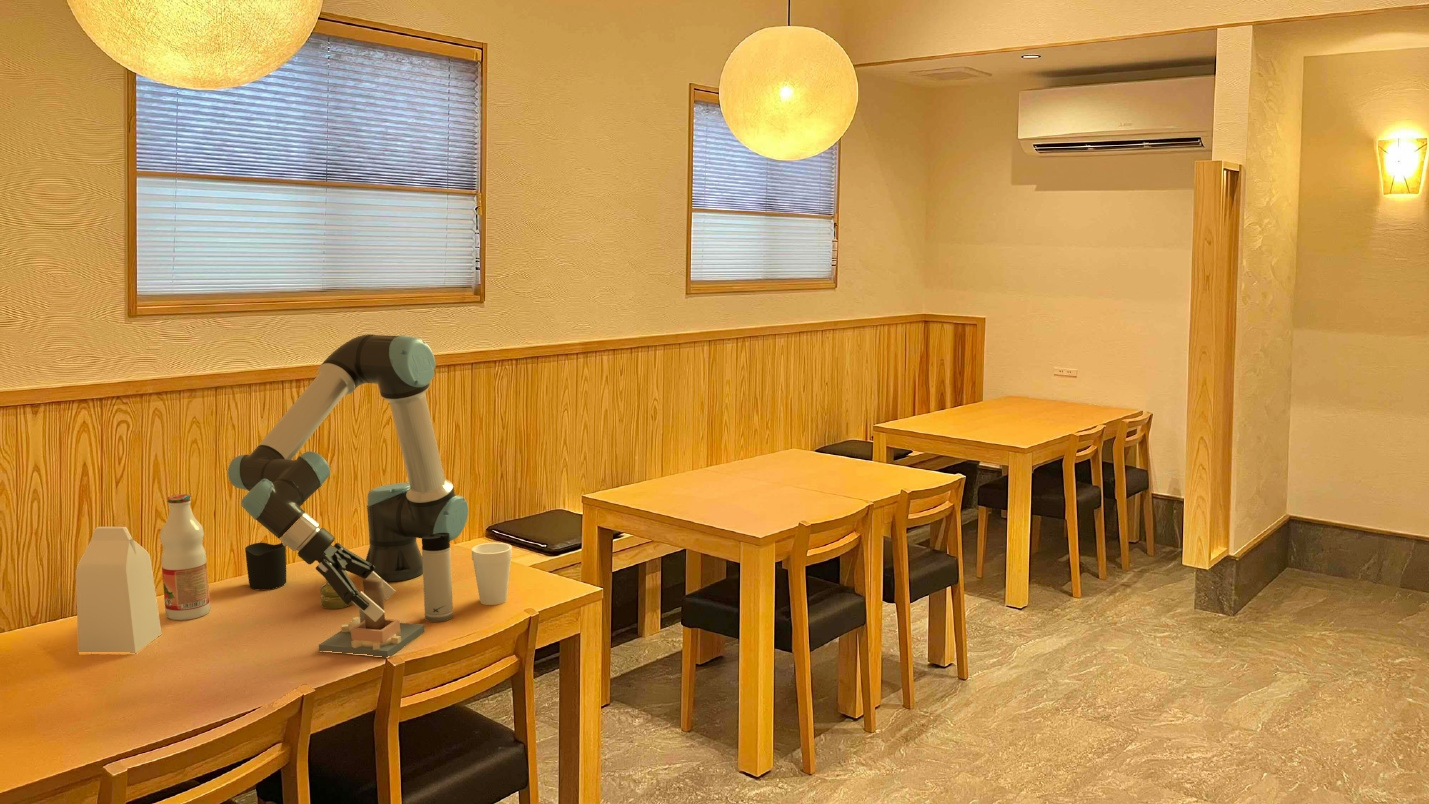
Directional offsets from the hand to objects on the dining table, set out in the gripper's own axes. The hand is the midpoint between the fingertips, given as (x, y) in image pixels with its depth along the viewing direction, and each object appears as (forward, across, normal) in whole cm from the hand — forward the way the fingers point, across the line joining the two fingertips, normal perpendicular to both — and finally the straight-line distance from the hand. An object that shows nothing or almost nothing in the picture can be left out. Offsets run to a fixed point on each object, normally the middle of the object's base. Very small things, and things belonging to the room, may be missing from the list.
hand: (386, 606), depth 241 cm
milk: (-34, -8, -47) cm, 59 cm away
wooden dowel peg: (+3, 0, -6) cm, 7 cm away
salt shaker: (-5, -30, -18) cm, 35 cm away
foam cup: (+21, -28, +8) cm, 36 cm away
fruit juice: (-28, -27, -42) cm, 57 cm away
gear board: (+4, -4, -9) cm, 11 cm away
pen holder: (-20, -47, -33) cm, 60 cm away
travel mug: (+13, -17, 0) cm, 21 cm away
